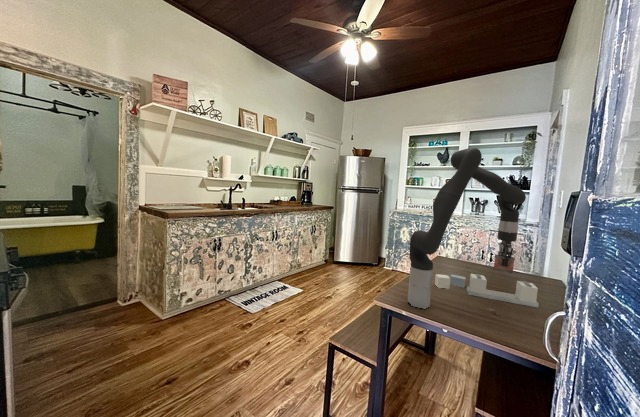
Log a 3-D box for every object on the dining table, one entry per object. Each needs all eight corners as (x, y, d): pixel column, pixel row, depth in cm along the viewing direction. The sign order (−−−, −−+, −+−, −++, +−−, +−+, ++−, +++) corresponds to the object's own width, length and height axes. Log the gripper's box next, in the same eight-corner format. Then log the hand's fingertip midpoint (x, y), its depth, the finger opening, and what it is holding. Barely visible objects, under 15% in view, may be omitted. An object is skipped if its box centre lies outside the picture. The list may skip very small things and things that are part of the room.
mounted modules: (535, 303, 116) (538, 287, 116) (471, 291, 126) (472, 276, 126) (530, 297, 123) (532, 282, 122) (469, 286, 133) (470, 272, 132)
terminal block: (464, 288, 136) (465, 279, 135) (449, 285, 139) (450, 276, 139) (464, 286, 139) (465, 277, 138) (450, 282, 143) (451, 274, 142)
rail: (538, 307, 116) (538, 303, 116) (468, 294, 127) (469, 290, 127) (532, 301, 123) (532, 297, 122) (466, 289, 133) (467, 286, 133)
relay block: (449, 289, 133) (450, 278, 132) (437, 288, 134) (438, 277, 133) (446, 285, 138) (447, 275, 137) (434, 284, 139) (435, 274, 138)
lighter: (493, 270, 124) (495, 250, 123) (492, 268, 127) (494, 249, 126) (513, 274, 120) (516, 253, 119) (512, 272, 123) (514, 252, 122)
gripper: (494, 227, 130) (491, 260, 131) (502, 231, 117) (498, 267, 118) (512, 229, 127) (508, 262, 128) (522, 233, 114) (517, 270, 115)
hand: (503, 265), depth 123 cm, fingers closed on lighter, 3 cm apart
